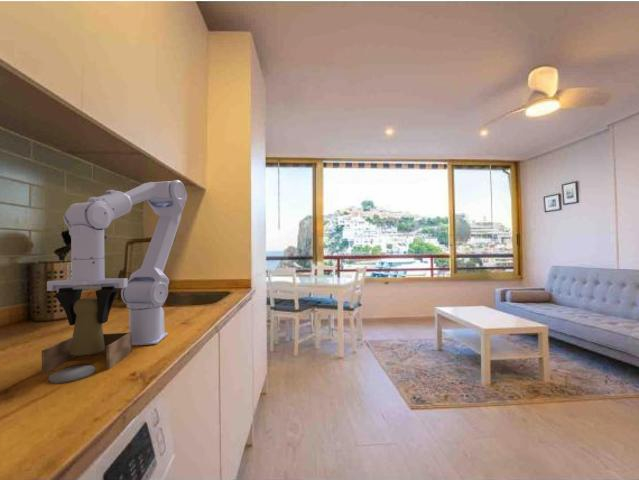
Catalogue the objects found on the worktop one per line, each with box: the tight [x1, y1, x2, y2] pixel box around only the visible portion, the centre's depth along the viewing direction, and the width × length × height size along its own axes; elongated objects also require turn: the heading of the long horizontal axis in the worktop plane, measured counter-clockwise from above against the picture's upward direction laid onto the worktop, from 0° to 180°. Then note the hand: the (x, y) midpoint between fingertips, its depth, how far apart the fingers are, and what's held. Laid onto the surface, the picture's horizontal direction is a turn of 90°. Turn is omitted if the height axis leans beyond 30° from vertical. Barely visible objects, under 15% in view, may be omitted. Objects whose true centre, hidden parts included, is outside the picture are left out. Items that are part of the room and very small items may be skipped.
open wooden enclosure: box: [41, 332, 133, 375], centre depth 68 cm, size 10×12×4 cm
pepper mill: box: [70, 297, 105, 356], centre depth 67 cm, size 6×6×11 cm
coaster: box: [48, 364, 96, 384], centre depth 61 cm, size 7×7×1 cm
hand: (88, 323), depth 67 cm, fingers closed on pepper mill, 5 cm apart
